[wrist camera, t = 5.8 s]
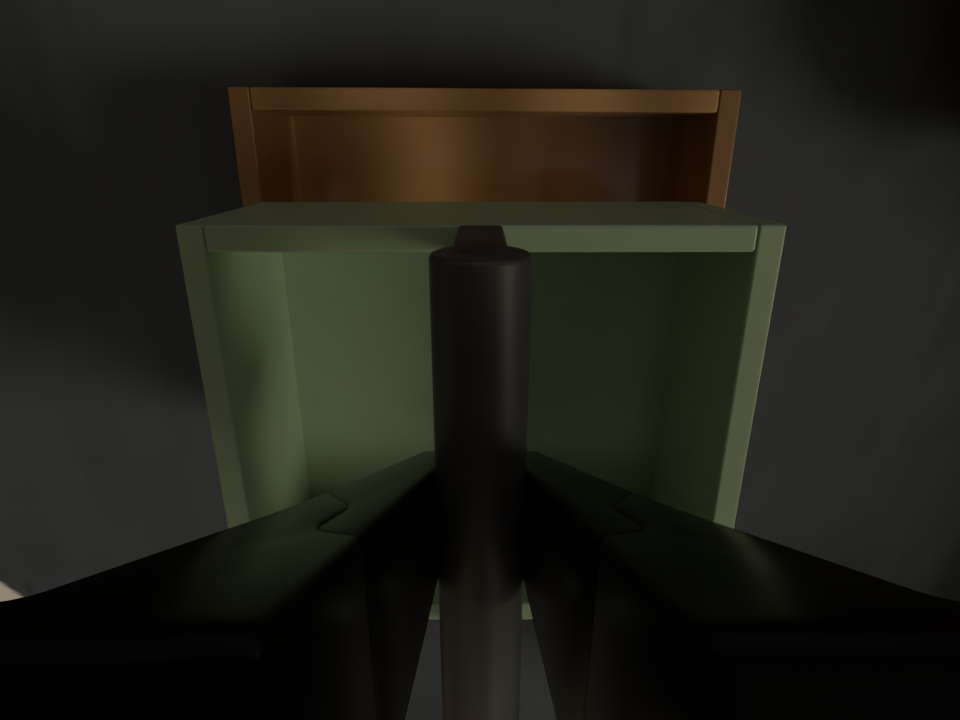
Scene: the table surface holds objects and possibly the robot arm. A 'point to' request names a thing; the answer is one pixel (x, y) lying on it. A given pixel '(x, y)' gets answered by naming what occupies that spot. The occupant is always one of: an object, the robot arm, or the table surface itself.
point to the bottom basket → (483, 144)
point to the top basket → (480, 372)
